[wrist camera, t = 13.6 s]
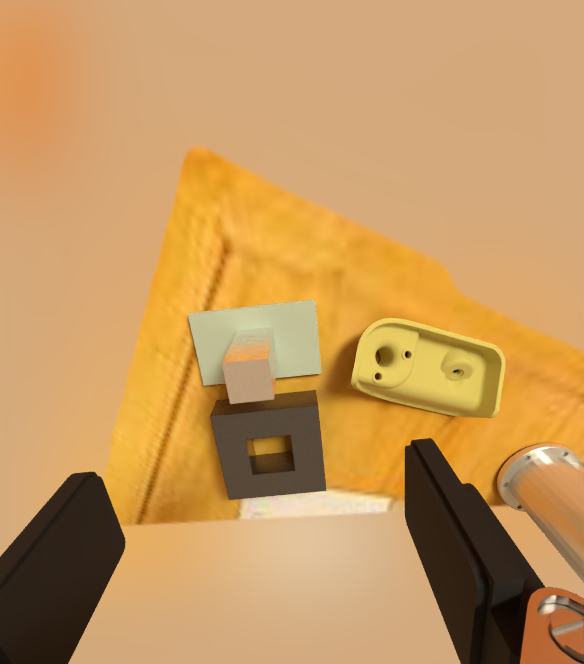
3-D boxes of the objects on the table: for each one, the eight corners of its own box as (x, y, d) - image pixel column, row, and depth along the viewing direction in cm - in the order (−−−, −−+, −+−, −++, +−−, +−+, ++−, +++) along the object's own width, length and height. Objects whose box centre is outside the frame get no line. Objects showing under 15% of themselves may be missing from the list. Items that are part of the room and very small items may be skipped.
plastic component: (508, 348, 41) (496, 427, 40) (465, 350, 48) (454, 416, 47) (365, 307, 38) (348, 392, 36) (343, 315, 45) (327, 387, 44)
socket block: (315, 390, 45) (317, 405, 41) (323, 470, 50) (326, 490, 46) (216, 400, 46) (210, 416, 42) (233, 478, 50) (229, 499, 46)
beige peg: (272, 326, 41) (268, 358, 32) (277, 359, 43) (274, 399, 33) (237, 330, 41) (221, 363, 32) (243, 363, 43) (229, 404, 33)
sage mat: (314, 299, 41) (315, 300, 40) (320, 370, 44) (321, 373, 43) (190, 312, 41) (187, 315, 40) (205, 382, 45) (203, 385, 44)
